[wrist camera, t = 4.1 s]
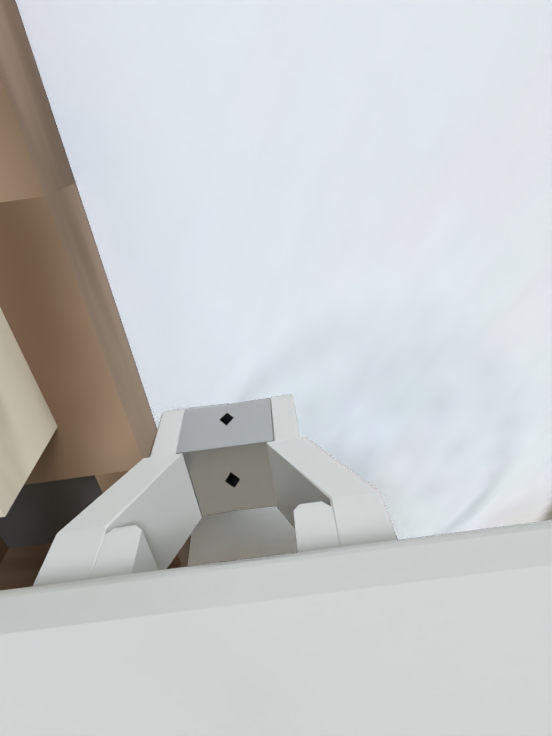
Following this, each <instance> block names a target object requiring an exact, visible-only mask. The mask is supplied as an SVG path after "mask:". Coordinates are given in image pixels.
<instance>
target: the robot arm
mask: <svg viewBox="0 0 552 736" xmlns="http://www.w3.org/2000/svg"><path fill="white" fill-rule="evenodd" d="M273 506H278V509H279V510H280V511H281V512H282V514H283V515H284V516H285V517H286V518H287V520H288V521H289V522H290V523H291V524H292V526H293V527H294V528H295V530H296V541H297V551H298V553H290V554H282V555H274V556H266V557H258V558H250V559H242V560H234V561H227V562H219V563H211V564H203V565H195V566H188V567H180V568H172V569H167V568H168V566H169V565H170V564H171V562H172V561H173V559H174V558H175V556H176V555H177V553H178V552H179V550H180V549H181V548H182V546H183V545H184V543H185V542H186V540H187V539H188V537H189V536H190V535H191V533H192V532H193V530H194V529H195V527H196V526H197V524H198V523H199V521H200V520H201V519H202V516H203V515H210V514H216V513H222V512H229V511H235V510H243V509H253V508H263V507H273ZM0 736H552V520H548V521H540V522H533V523H525V524H517V525H509V526H501V527H493V528H486V529H478V530H470V531H463V532H455V533H447V534H440V535H432V536H424V537H417V538H409V539H401V540H398V539H397V536H396V534H395V531H394V528H393V525H392V522H391V519H390V517H389V514H388V511H387V508H386V505H385V502H384V500H383V497H382V494H381V492H380V491H378V490H377V489H376V488H374V487H373V486H372V485H370V484H369V483H368V482H366V481H365V480H363V479H362V478H361V477H359V476H358V475H357V474H355V473H354V472H353V471H351V470H350V469H349V468H347V467H346V466H345V465H343V464H342V463H341V462H339V461H338V460H337V459H335V458H334V457H332V456H331V455H330V454H328V453H327V452H326V451H324V450H323V449H322V448H320V447H319V446H318V445H316V444H315V443H314V442H312V441H311V440H310V439H308V438H307V437H303V438H300V435H299V428H298V422H297V416H296V410H295V404H294V398H293V395H292V394H288V395H282V396H276V397H271V398H265V399H258V400H252V401H245V402H238V403H232V404H229V403H227V404H218V405H209V406H200V407H191V408H187V409H186V408H182V409H175V410H167V411H165V412H164V413H163V414H162V417H161V420H160V424H159V427H158V431H157V434H156V438H155V441H154V445H153V448H152V452H151V455H150V457H149V458H143V459H142V460H141V461H140V462H139V463H137V464H136V465H135V466H134V467H133V468H132V469H131V470H129V471H128V472H127V473H126V474H125V475H124V476H123V477H121V478H120V479H119V480H118V481H117V482H116V483H114V484H113V485H112V486H111V487H110V488H109V489H108V490H106V491H105V492H104V493H103V494H102V495H101V496H99V497H98V498H97V499H96V500H95V501H94V502H93V503H91V504H90V505H89V506H88V507H87V508H86V509H84V510H83V511H82V512H81V513H80V514H79V515H78V516H76V517H75V518H74V519H73V520H72V521H71V522H69V523H68V524H67V525H66V526H65V527H64V528H63V529H61V530H60V531H59V532H58V533H57V534H56V536H55V539H54V541H53V543H52V545H51V547H50V550H49V552H48V554H47V556H46V558H45V560H44V563H43V565H42V567H41V569H40V571H39V574H38V576H37V578H36V580H35V582H34V584H33V586H32V587H24V588H16V589H8V590H0Z"/></svg>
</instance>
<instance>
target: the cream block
mask: <svg viewBox="0 0 552 736" xmlns="http://www.w3.org/2000/svg"><path fill="white" fill-rule="evenodd" d="M57 427H58V426H57V424H56V422H55V420H54V418H53V416H52V414H51V412H50V410H49V408H48V406H47V404H46V401H45V399H44V397H43V395H42V393H41V391H40V389H39V387H38V385H37V383H36V381H35V379H34V377H33V374H32V372H31V370H30V368H29V366H28V364H27V362H26V360H25V358H24V356H23V354H22V352H21V350H20V347H19V345H18V343H17V341H16V339H15V337H14V335H13V333H12V331H11V329H10V327H9V325H8V323H7V320H6V318H5V316H4V314H3V312H2V310H1V308H0V517H5V516H6V514H7V513H8V511H9V509H10V508H11V506H12V504H13V502H14V501H15V499H16V497H17V496H18V494H19V492H20V490H21V489H22V487H23V485H24V484H25V482H26V480H27V478H28V477H29V475H30V473H31V472H32V470H33V468H34V466H35V465H36V463H37V461H38V460H39V458H40V456H41V454H42V453H43V451H44V449H45V448H46V446H47V444H48V442H49V441H50V439H51V437H52V436H53V434H54V432H55V430H56V429H57Z"/></svg>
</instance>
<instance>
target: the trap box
mask: <svg viewBox="0 0 552 736" xmlns="http://www.w3.org/2000/svg"><path fill="white" fill-rule="evenodd" d="M0 308H1V310H2V312H3V314H4V316H5V318H6V320H7V323H8V325H9V327H10V329H11V331H12V333H13V335H14V337H15V339H16V341H17V343H18V345H19V347H20V350H21V352H22V354H23V356H24V358H25V360H26V362H27V364H28V366H29V368H30V370H31V372H32V374H33V377H34V379H35V381H36V383H37V385H38V387H39V389H40V391H41V393H42V395H43V397H44V399H45V401H46V404H47V406H48V408H49V410H50V412H51V414H52V416H53V418H54V420H55V422H56V424H57V426H58V427H57V429H56V430H55V432H54V434H53V436H52V437H51V439H50V441H49V442H48V444H47V446H46V448H45V449H44V451H43V453H42V454H41V456H40V458H39V460H38V461H37V463H36V465H35V466H34V468H33V470H32V472H31V473H30V475H29V477H28V478H27V480H26V482H25V484H24V485H23V487H22V489H21V490H20V492H19V494H18V496H17V497H16V499H15V501H14V502H13V504H12V506H11V508H10V509H9V511H8V513H7V514H6V516H5V517H0V590H8V589H16V588H24V587H32V586H33V584H34V582H35V580H36V578H37V576H38V574H39V571H40V569H41V567H42V565H43V563H44V560H45V558H46V556H47V554H48V552H49V550H50V547H51V545H52V543H53V541H54V539H55V536H56V534H57V533H58V532H59V531H60V530H61V529H63V528H64V527H65V526H66V525H67V524H68V523H69V522H71V521H72V520H73V519H74V518H75V517H76V516H78V515H79V514H80V513H81V512H82V511H83V510H84V509H86V508H87V507H88V506H89V505H90V504H91V503H93V502H94V501H95V500H96V499H97V498H98V497H99V496H101V495H102V494H103V493H104V492H105V491H106V490H108V489H109V488H110V487H111V486H112V485H113V484H114V483H116V482H117V481H118V480H119V479H120V478H121V477H123V476H124V475H125V474H126V473H127V472H128V471H129V470H131V469H132V468H133V467H134V466H135V465H136V464H137V463H139V462H140V461H141V460H142V459H143V458H149V457H150V455H151V452H152V448H153V445H154V441H155V438H156V434H157V428H156V425H155V422H154V418H153V415H152V412H151V409H150V406H149V403H148V400H147V397H146V394H145V391H144V388H143V385H142V382H141V379H140V376H139V373H138V370H137V367H136V364H135V361H134V358H133V355H132V352H131V349H130V346H129V343H128V340H127V337H126V334H125V331H124V328H123V325H122V322H121V319H120V316H119V313H118V310H117V307H116V304H115V301H114V298H113V295H112V292H111V289H110V286H109V283H108V279H107V276H106V273H105V270H104V267H103V264H102V261H101V258H100V255H99V252H98V249H97V246H96V243H95V240H94V237H93V234H92V231H91V228H90V225H89V222H88V219H87V216H86V213H85V210H84V207H83V204H82V201H81V198H80V195H79V192H78V189H77V186H76V183H75V180H74V177H73V174H72V171H71V168H70V165H69V162H68V159H67V156H66V153H65V150H64V147H63V144H62V140H61V137H60V134H59V131H58V128H57V125H56V122H55V119H54V116H53V113H52V110H51V107H50V104H49V101H48V98H47V95H46V92H45V89H44V86H43V83H42V80H41V77H40V74H39V71H38V68H37V65H36V62H35V59H34V56H33V53H32V50H31V47H30V44H29V41H28V38H27V35H26V32H25V29H24V26H23V23H22V20H21V17H20V14H19V11H18V8H17V5H16V1H15V0H0ZM190 538H191V535H190V536H189V537H188V539H187V540H186V542H185V543H184V545H183V546H182V548H181V549H180V550H179V552H178V553H177V555H176V556H175V558H174V559H173V561H172V562H171V564H170V565H169V566H168V568H167V569H172V568H180V567H187V563H188V555H189V546H190Z"/></svg>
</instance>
